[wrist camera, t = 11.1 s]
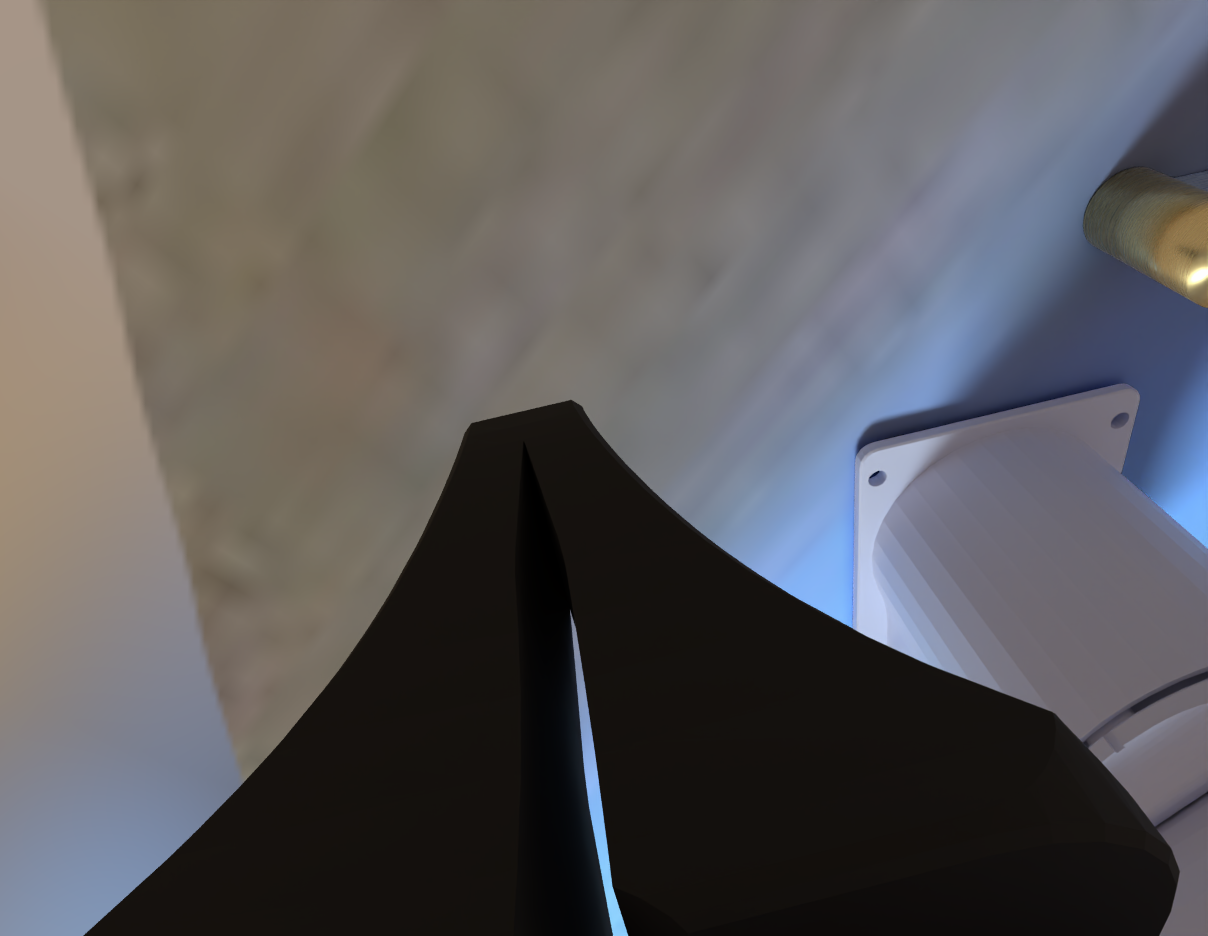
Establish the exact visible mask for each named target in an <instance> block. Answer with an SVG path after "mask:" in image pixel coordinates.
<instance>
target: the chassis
mask: <svg viewBox="0 0 1208 936" xmlns="http://www.w3.org/2000/svg"><path fill="white" fill-rule="evenodd" d="M1083 229H1084V234H1085V237H1086V239H1087V240H1088V242H1089V243H1090V244H1091V245H1093V246H1094V247H1096V248H1098V249H1100V250H1101V251H1103V252H1105V253H1107V254H1108V255H1110V256H1112V257H1114V258H1116V259H1117V260H1119V261H1121V262H1123V263H1125V264H1126V265H1128V266H1130V267H1132V268H1134V269H1135V270H1137V271H1139V272H1141V273H1142V274H1144V275H1146V276H1148V277H1150V278H1151V279H1153V280H1155V281H1157V282H1159V283H1160V284H1162V285H1164V286H1166V287H1168V288H1169V289H1171V290H1173V291H1175V292H1176V293H1178V294H1180V295H1182V296H1184V297H1185V298H1187V299H1189V300H1191V301H1193V302H1194V303H1196V304H1198V305H1200V306H1202V307H1206V308H1208V171H1203V172H1199V173H1194V174H1190V175H1186V176H1181V177H1177V178H1172V177H1170V176H1168V175H1165V174H1163V173H1160V172H1158V171H1155V170H1153V169H1150V168H1147V167H1133V168H1129V169H1126V170H1124V171H1121V172H1119V173H1118V174H1116V175H1114V176H1113V177H1111V178H1110V179H1109V180H1108V181H1106V182H1105V183H1104V184H1103V185H1102V186H1101V187H1100V188H1099V189H1098V191H1097V192H1096V193H1095V195H1094V196H1093V197H1092V199H1091V201H1090V203H1089V205H1088V207H1087V209H1086V212H1085V216H1084V221H1083Z"/></svg>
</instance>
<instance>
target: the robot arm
mask: <svg viewBox="0 0 1208 936" xmlns="http://www.w3.org/2000/svg"><path fill="white" fill-rule="evenodd" d="M1139 402H1140V394H1139V393H1138V391H1137V390H1136V389H1134V388H1133V387H1131V386H1130V385H1128V384H1125V383H1124V384H1116V385H1112V386H1108V387H1104V388H1099V389H1095V390H1091V391H1087V392H1082V393H1078V394H1074V395H1070V396H1066V397H1061V398H1057V399H1053V400H1049V401H1045V402H1040V403H1036V404H1032V405H1028V406H1024V407H1019V408H1015V409H1011V410H1007V411H1003V412H998V413H994V414H990V415H986V416H982V417H977V418H973V419H969V420H965V421H961V422H956V423H952V424H948V425H944V426H940V427H935V428H931V429H927V430H923V431H919V432H914V433H910V434H906V435H902V436H898V437H893V438H889V439H885V440H881V441H877V442H873V443H870V444H868V445H866V446H864V447H863V448H862V449H861V450H860V451H859V453H858V454H857V456H856V460H855V504H854V572H853V628H851V627H849V626H847V625H845V624H843V623H841V622H840V621H838V620H836V619H834V618H832V617H830V616H829V615H827V614H825V613H823V612H821V611H819V610H817V609H816V608H814V607H812V606H810V605H808V604H806V603H805V602H803V601H801V600H799V599H797V598H795V597H794V596H792V595H790V594H789V593H787V592H786V591H784V590H782V589H781V588H779V587H778V586H776V585H775V584H773V583H771V582H770V581H768V580H767V579H765V578H764V577H762V576H760V575H759V574H757V573H756V572H754V571H753V570H751V569H750V568H748V567H747V566H745V565H744V564H743V563H741V562H740V561H738V560H737V559H735V558H734V557H733V556H731V555H730V554H728V553H727V552H726V551H724V550H723V549H721V548H720V547H719V546H717V545H716V544H715V543H713V542H712V541H711V540H710V539H708V538H707V537H706V536H704V535H703V534H702V533H701V532H699V531H698V530H697V529H696V528H694V527H693V526H692V525H691V524H690V523H688V522H687V521H686V520H685V519H684V518H683V517H681V516H680V515H679V514H678V513H677V512H676V511H674V510H673V509H672V508H671V507H670V506H669V505H667V504H666V503H665V502H664V501H663V500H662V499H661V498H660V497H659V496H658V495H657V494H656V493H654V492H653V491H652V490H651V489H650V488H649V487H648V486H647V485H646V484H645V483H644V482H643V481H642V480H641V479H640V478H639V477H638V476H637V475H636V474H635V473H634V472H633V471H632V470H631V469H630V468H629V467H628V466H627V465H626V464H625V462H624V461H623V460H622V459H621V458H620V457H619V456H618V455H617V454H616V453H615V451H614V450H613V449H612V448H611V447H610V445H609V444H608V443H607V442H606V441H605V440H604V438H603V437H602V436H601V435H600V433H599V432H598V431H597V429H596V428H595V427H594V425H593V424H592V423H591V421H590V420H589V418H588V416H587V415H586V413H585V411H584V410H583V407H582V406H581V405H579V404H577V403H576V402H574V401H572V400H569V401H565V402H560V403H556V404H552V405H547V406H543V407H539V408H535V409H530V410H526V411H522V412H517V413H513V414H509V415H505V416H500V417H496V418H492V419H487V420H483V421H479V422H475V423H471V425H470V426H469V428H468V429H467V431H466V432H465V434H464V437H463V440H462V443H461V446H460V449H459V451H458V454H457V457H456V459H455V462H454V465H453V467H452V470H451V472H450V475H449V477H448V479H447V482H446V484H445V487H444V489H443V491H442V494H441V496H440V498H439V500H438V502H437V504H436V506H435V509H434V511H433V513H432V515H431V517H430V519H429V521H428V524H427V526H426V528H425V530H424V532H423V534H422V536H421V538H420V540H419V542H418V544H417V546H416V548H415V550H414V551H413V553H412V555H411V557H410V558H409V560H408V562H407V564H406V566H405V567H404V569H403V571H402V573H401V575H400V576H399V578H398V580H397V582H396V584H395V585H394V587H393V589H392V591H391V593H390V594H389V596H388V598H387V599H386V601H385V602H384V604H383V606H382V607H381V609H380V610H379V612H378V614H377V615H376V617H375V618H374V620H373V622H372V623H371V625H370V626H369V628H368V629H367V631H366V632H365V634H364V635H363V637H362V638H361V640H360V641H359V642H358V644H357V645H356V647H355V648H354V650H353V651H352V652H351V654H350V655H349V657H348V658H347V660H346V661H345V662H344V664H343V665H342V667H341V668H340V669H339V671H338V672H337V673H336V675H335V676H334V677H333V678H332V680H331V681H330V682H329V684H328V685H327V686H326V687H325V689H324V690H323V691H322V692H321V694H320V695H319V696H318V697H317V699H316V700H315V701H314V702H313V703H312V705H311V706H310V707H309V708H308V710H307V711H306V712H305V713H304V714H303V716H302V717H301V718H300V719H299V720H298V722H297V723H296V724H295V725H294V727H293V728H292V729H291V730H290V731H289V733H288V734H287V735H286V736H285V738H284V739H283V740H282V741H281V742H280V743H279V745H278V746H277V747H276V748H275V749H274V750H273V751H272V752H271V754H270V755H269V756H268V757H267V758H266V759H265V760H264V761H263V762H262V763H261V764H260V765H259V767H258V768H257V769H256V770H255V771H254V772H253V773H252V774H251V775H250V776H249V777H248V778H247V780H246V781H245V782H244V783H243V784H242V785H241V786H240V787H239V788H238V789H237V790H236V791H235V792H234V793H233V795H231V797H229V798H228V799H227V800H226V802H225V803H224V804H223V805H222V806H221V807H220V808H219V809H218V810H217V811H216V812H215V813H214V814H213V815H212V816H211V817H210V818H209V819H208V820H207V821H206V822H205V823H204V824H203V825H202V826H201V827H200V828H199V829H198V830H197V831H196V832H195V833H194V834H193V835H192V836H191V837H190V838H189V839H188V840H187V841H186V842H185V843H184V844H183V845H182V846H181V847H180V848H179V849H177V850H176V851H175V852H174V853H173V854H172V855H171V856H170V857H169V858H168V859H167V860H166V861H165V862H164V863H163V864H162V865H161V866H160V867H158V868H157V869H156V870H155V871H154V872H153V873H152V874H151V875H150V876H149V877H147V878H146V879H145V880H144V881H143V882H142V883H141V884H140V885H139V886H137V887H136V888H135V889H134V890H133V891H132V892H131V893H130V894H129V895H128V896H126V897H125V898H124V899H123V900H122V901H121V902H120V903H119V904H118V905H117V906H115V907H114V908H113V909H112V910H111V911H110V912H109V913H108V914H107V915H106V916H104V917H103V918H102V919H101V920H100V921H99V922H98V923H97V924H96V925H95V926H94V927H92V928H91V929H90V930H89V931H88V932H87V933H86V934H85V935H84V936H613V933H612V928H611V923H610V917H609V912H608V907H607V902H606V896H605V891H604V886H603V880H602V875H601V870H600V864H599V859H598V853H597V848H596V842H595V837H594V832H593V826H592V821H591V815H590V810H589V803H588V796H587V788H586V780H585V773H584V763H583V751H582V740H581V729H580V717H579V706H578V694H577V683H576V671H575V660H574V649H573V638H572V627H571V616H570V611H571V614H572V617H573V620H574V624H575V627H576V631H577V638H578V644H579V650H580V656H581V663H582V669H583V675H584V681H585V688H586V695H587V702H588V708H589V715H590V722H591V729H592V735H593V742H594V749H595V756H596V763H597V771H598V778H599V786H600V793H601V801H602V808H603V816H604V823H605V830H606V838H607V845H608V854H609V862H610V870H611V878H612V886H613V889H614V892H615V896H616V899H617V902H618V905H619V908H620V911H621V914H622V917H623V921H624V924H625V927H626V930H627V933H628V936H1208V549H1207V548H1206V547H1205V546H1204V545H1203V544H1202V543H1201V542H1199V541H1198V540H1197V539H1196V538H1195V537H1194V536H1192V535H1191V534H1190V533H1189V532H1188V531H1187V530H1186V529H1184V528H1183V527H1182V526H1181V525H1180V524H1179V523H1178V522H1176V521H1175V520H1174V519H1173V518H1172V517H1171V516H1169V515H1168V514H1167V513H1166V512H1165V511H1164V510H1163V509H1161V508H1160V507H1159V506H1158V505H1157V504H1156V503H1154V502H1153V501H1152V500H1151V499H1150V498H1149V497H1148V496H1146V495H1145V494H1144V493H1143V492H1142V491H1141V490H1139V489H1138V488H1137V487H1136V486H1135V485H1134V484H1133V483H1131V482H1130V481H1129V480H1128V479H1127V478H1126V477H1124V476H1123V475H1122V474H1121V473H1122V469H1123V465H1124V461H1125V457H1126V453H1127V449H1128V445H1129V441H1130V437H1131V433H1132V429H1133V425H1134V421H1135V417H1136V414H1137V410H1138V406H1139ZM1116 415H1117V416H1116ZM1115 416H1116V417H1115ZM1114 417H1115V418H1114ZM1113 418H1114V419H1113ZM877 471H880V472H879V473H878V474H877V475H876V476H875V477H872V478H869V477H870V476H871V475H872V474H873V473H874V472H877Z"/></svg>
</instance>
